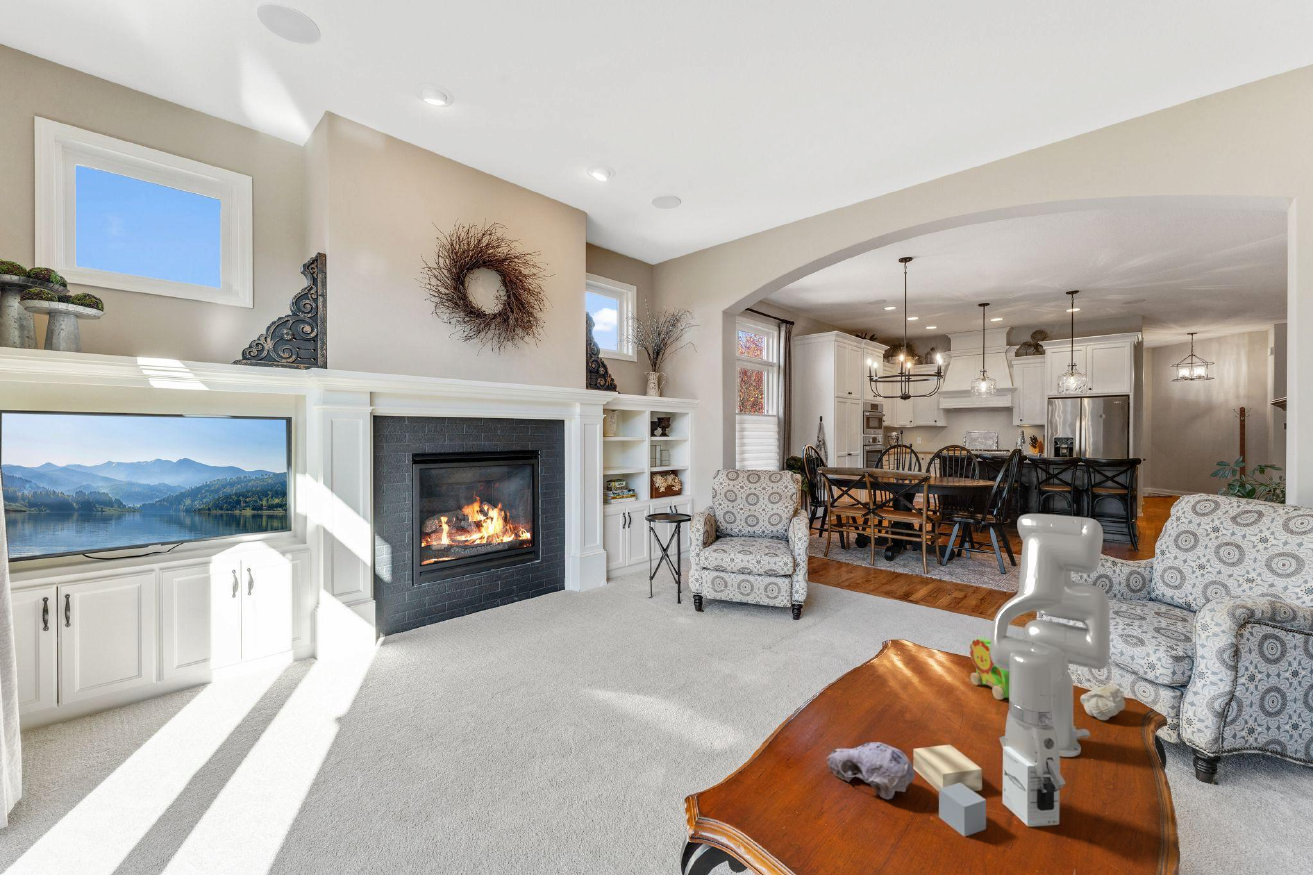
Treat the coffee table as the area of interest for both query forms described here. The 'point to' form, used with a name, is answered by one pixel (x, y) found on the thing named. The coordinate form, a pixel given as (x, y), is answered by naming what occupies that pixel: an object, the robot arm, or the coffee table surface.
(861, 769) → the skull
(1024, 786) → the supplement box
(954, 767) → the maple block
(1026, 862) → the coffee table surface
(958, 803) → the slate block
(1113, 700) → the fossil replica
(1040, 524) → the robot arm
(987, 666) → the toy lion
